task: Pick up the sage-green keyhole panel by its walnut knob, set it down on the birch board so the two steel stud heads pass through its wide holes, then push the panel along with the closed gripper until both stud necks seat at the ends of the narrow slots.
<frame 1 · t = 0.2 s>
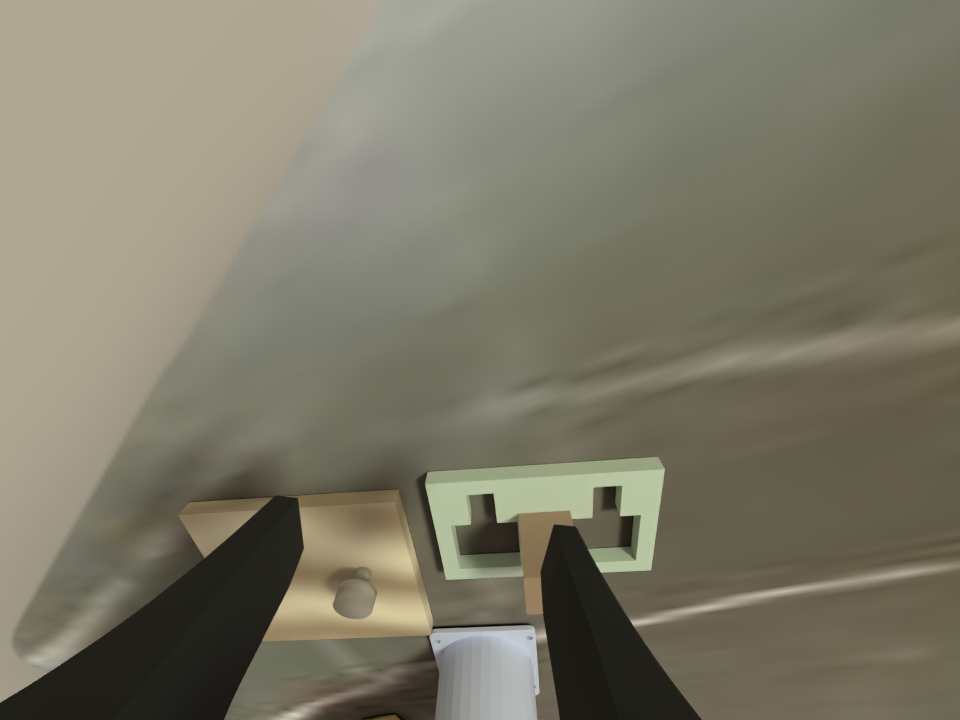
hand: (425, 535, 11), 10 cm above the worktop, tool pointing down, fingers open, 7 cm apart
stud board: (322, 567, 27), on the worktop
keyhole panel: (542, 516, 24), on the worktop
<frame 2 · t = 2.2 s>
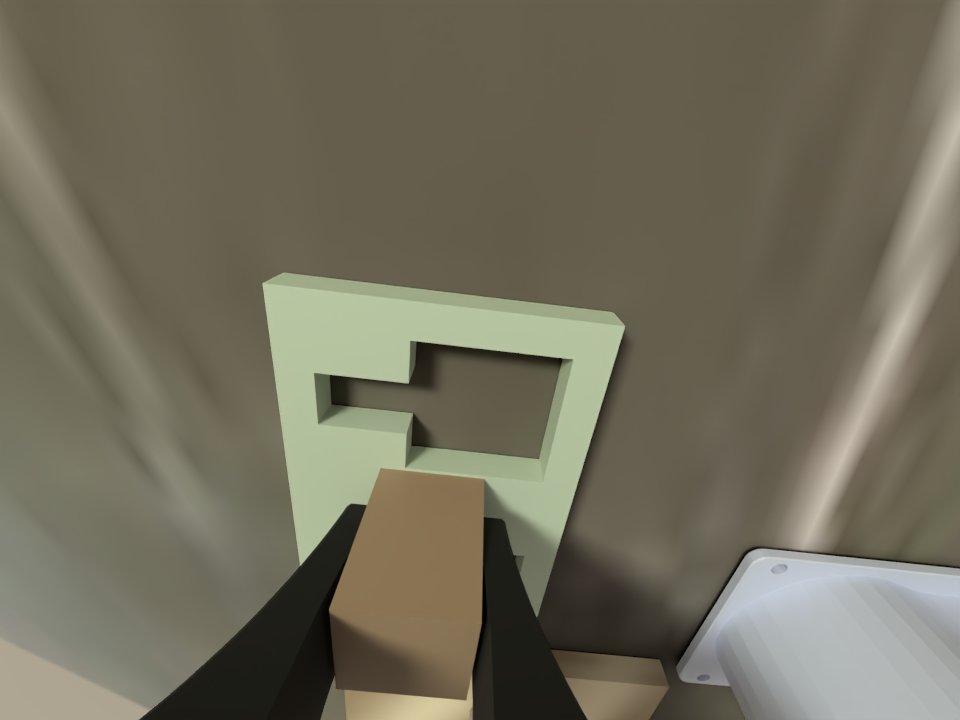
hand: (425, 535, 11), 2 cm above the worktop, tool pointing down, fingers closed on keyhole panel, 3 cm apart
keyhole panel: (433, 486, 13), on the worktop, touching gripper
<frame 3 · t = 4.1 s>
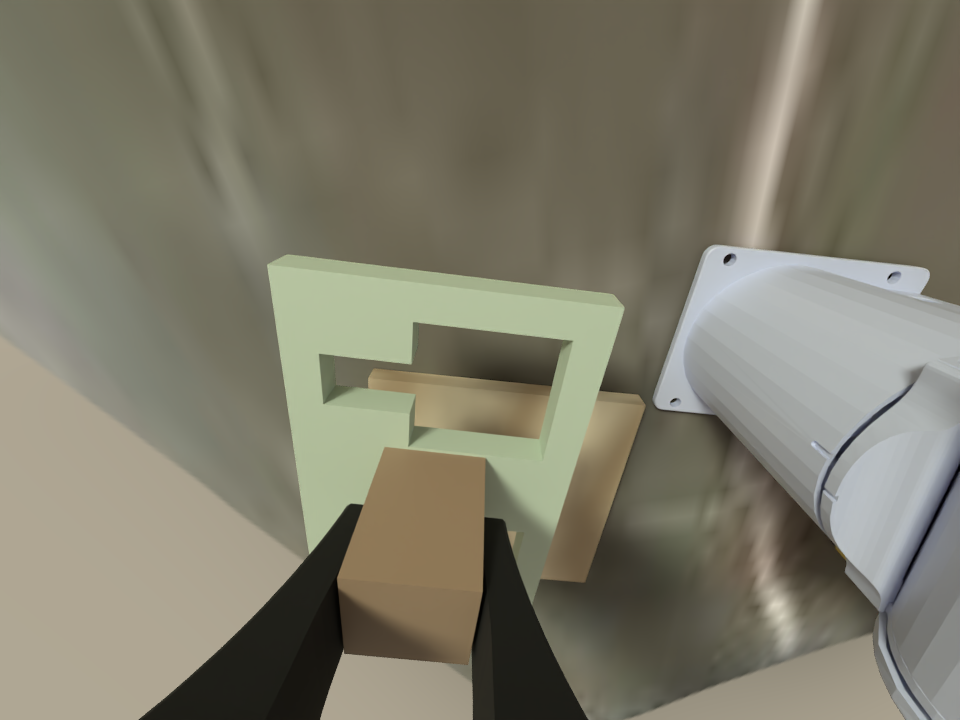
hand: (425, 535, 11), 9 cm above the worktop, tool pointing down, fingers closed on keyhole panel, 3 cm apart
stud board: (492, 482, 23), on the worktop
keyhole panel: (436, 465, 13), point 7 cm above the worktop, touching gripper
when the fingers open (4 cm above the worktop, at t = 6.0 s): keyhole panel stays where it is, resting on stud board.
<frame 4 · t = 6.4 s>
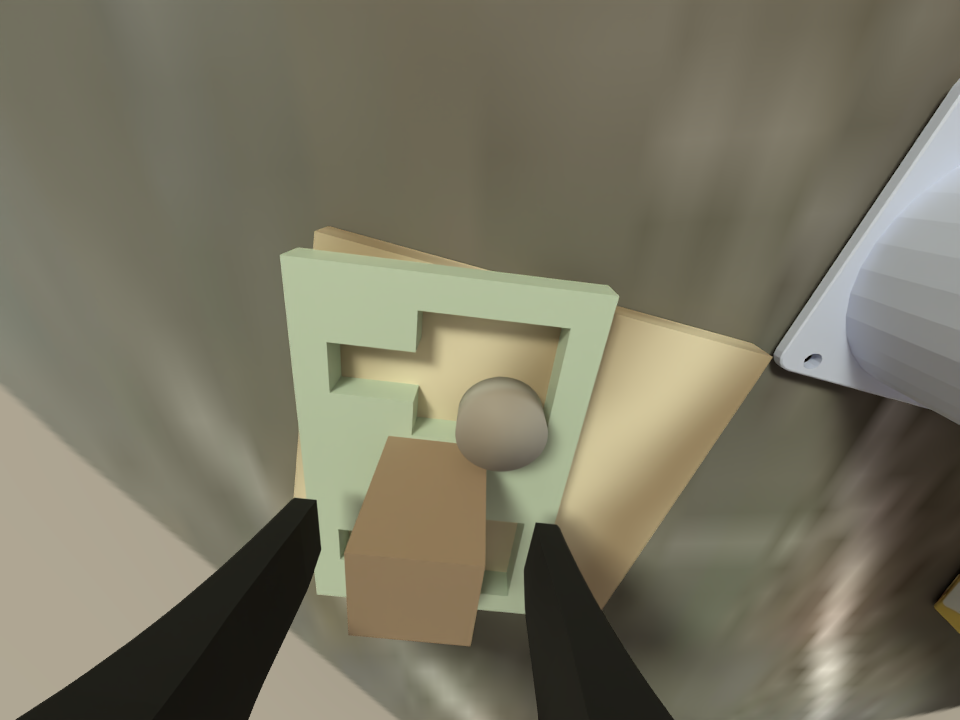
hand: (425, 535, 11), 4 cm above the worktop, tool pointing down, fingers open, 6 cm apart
stud board: (491, 456, 15), on the worktop
keyhole panel: (438, 457, 13), point 1 cm above the worktop, touching stud board
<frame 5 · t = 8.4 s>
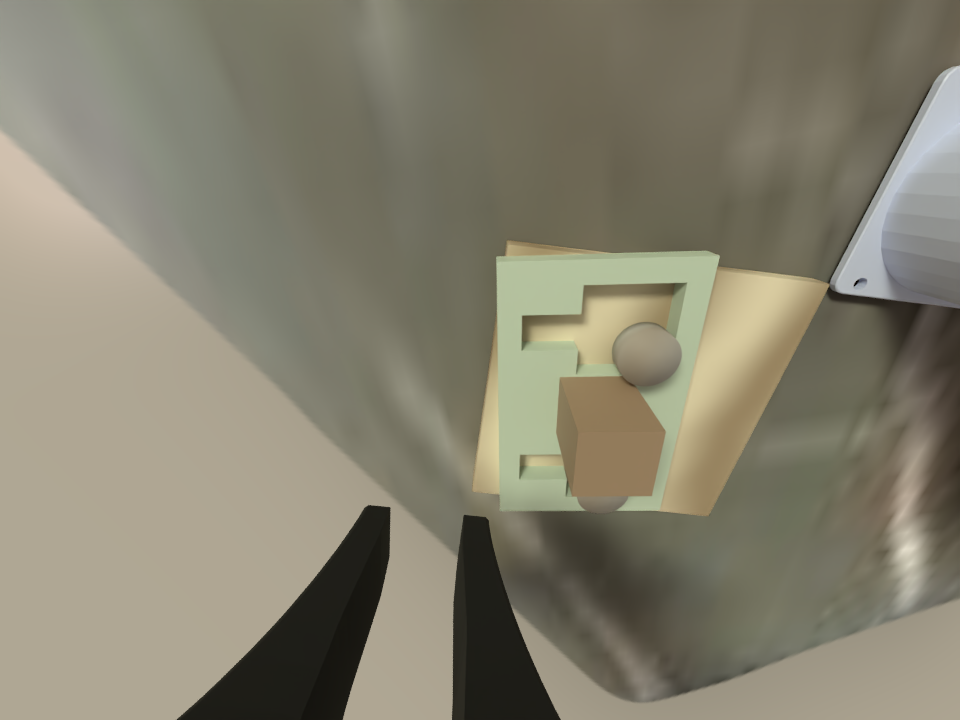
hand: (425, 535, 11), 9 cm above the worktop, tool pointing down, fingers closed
stud board: (618, 392, 20), on the worktop
keyhole panel: (586, 394, 19), point 1 cm above the worktop, touching stud board
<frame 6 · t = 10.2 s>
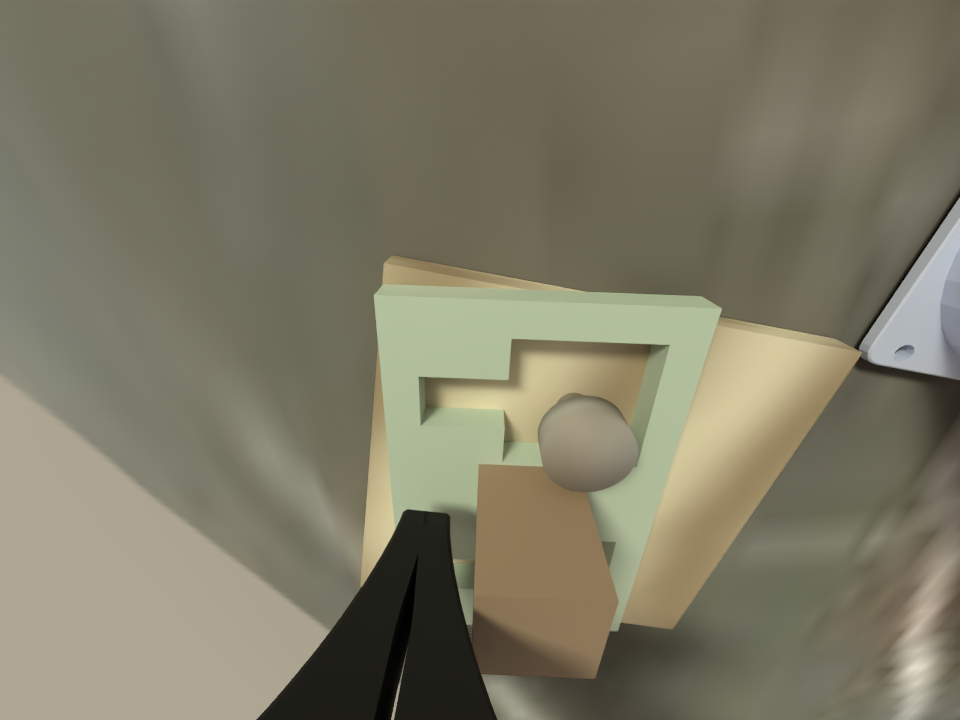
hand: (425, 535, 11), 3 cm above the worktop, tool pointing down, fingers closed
stud board: (559, 471, 14), on the worktop
keyhole panel: (522, 480, 13), point 1 cm above the worktop, touching gripper
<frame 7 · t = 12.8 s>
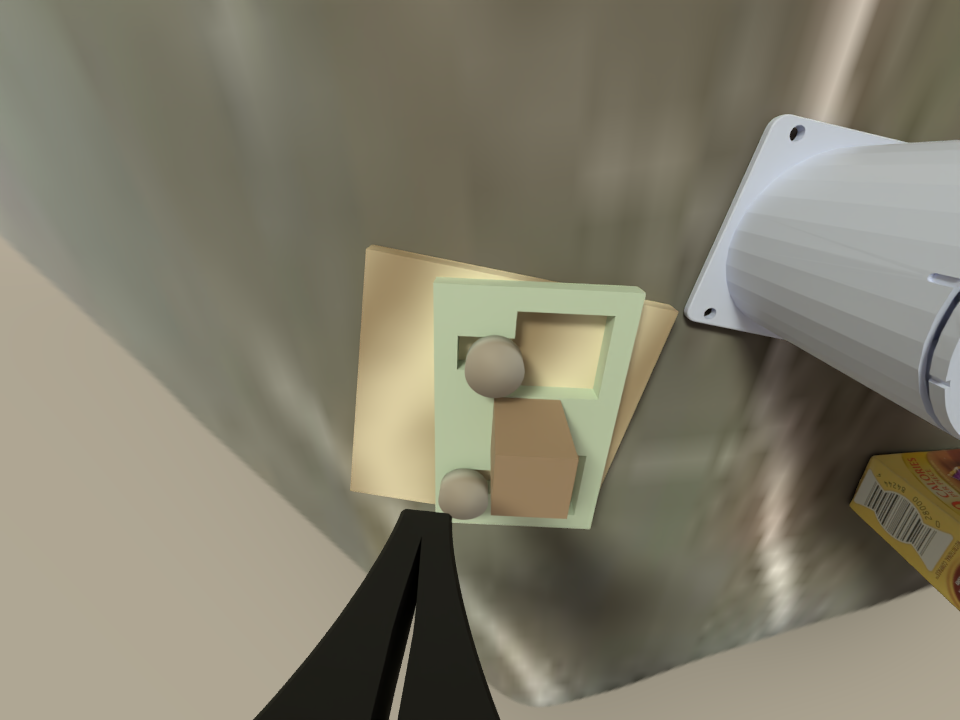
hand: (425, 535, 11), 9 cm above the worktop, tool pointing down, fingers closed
stud board: (493, 401, 20), on the worktop
candy box: (935, 474, 22), on the worktop
keyhole panel: (522, 413, 19), point 1 cm above the worktop, touching stud board
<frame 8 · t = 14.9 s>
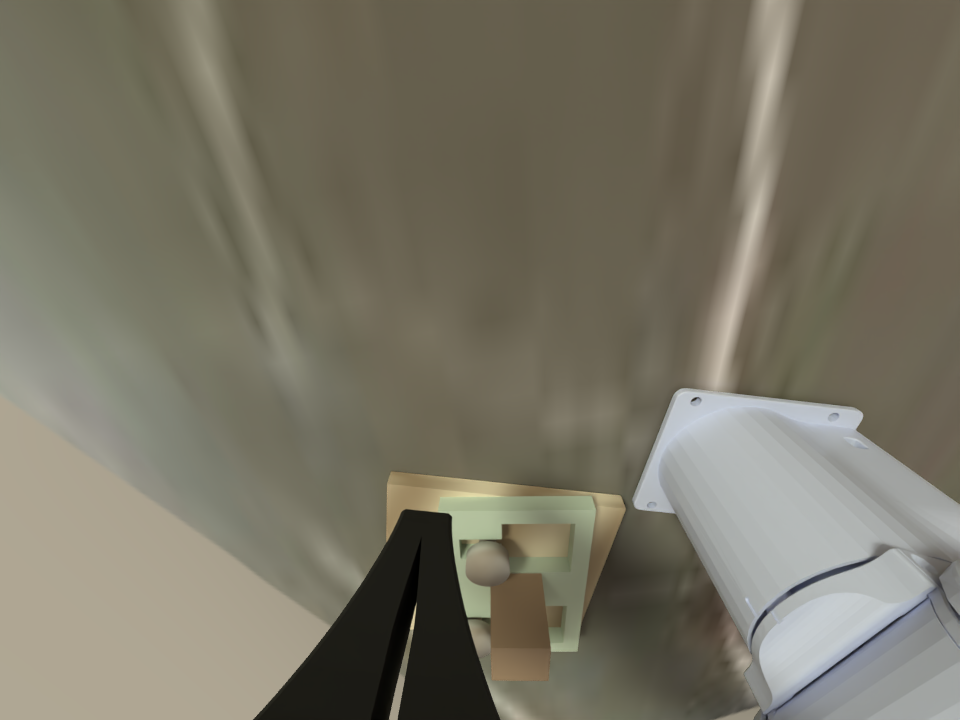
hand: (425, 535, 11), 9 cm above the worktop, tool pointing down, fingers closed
stud board: (492, 560, 25), on the worktop
keyhole panel: (514, 574, 25), point 1 cm above the worktop, touching stud board
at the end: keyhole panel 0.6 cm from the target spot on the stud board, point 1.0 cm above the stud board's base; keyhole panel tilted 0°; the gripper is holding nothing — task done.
